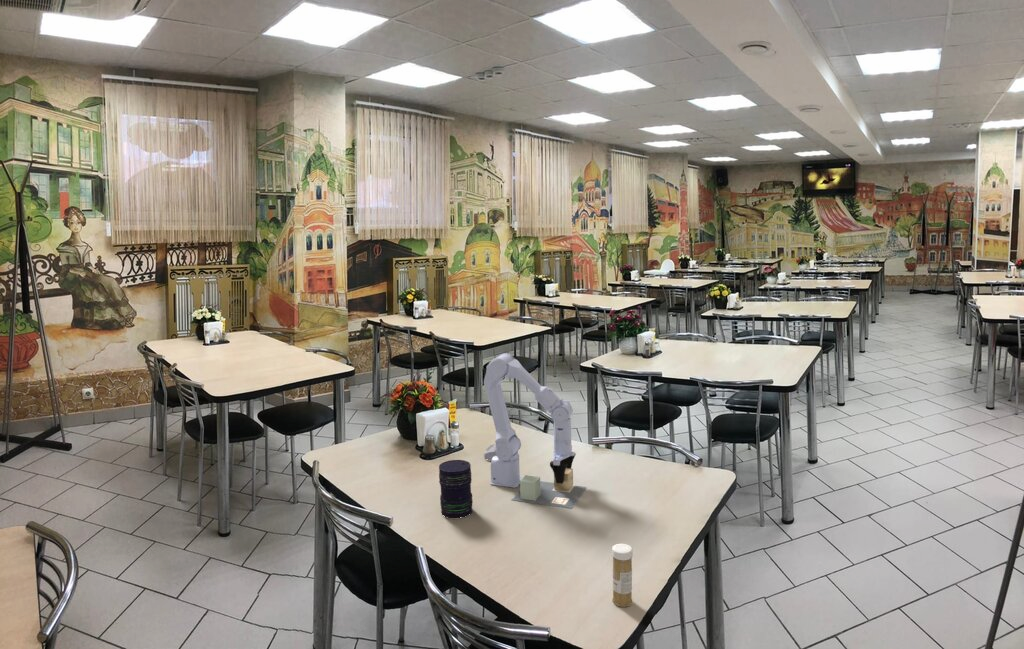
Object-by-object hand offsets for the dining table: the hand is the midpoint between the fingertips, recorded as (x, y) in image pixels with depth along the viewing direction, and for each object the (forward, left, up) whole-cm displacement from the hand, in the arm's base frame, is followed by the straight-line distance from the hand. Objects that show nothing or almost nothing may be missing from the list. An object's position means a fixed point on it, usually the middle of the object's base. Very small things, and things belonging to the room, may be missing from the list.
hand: (563, 478), depth 212 cm
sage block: (-8, -10, -3) cm, 13 cm away
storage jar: (-26, -27, -3) cm, 38 cm away
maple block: (0, 0, -3) cm, 3 cm away
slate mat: (-3, -5, -3) cm, 7 cm away
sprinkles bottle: (+32, -58, -3) cm, 66 cm away
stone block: (-33, +22, -4) cm, 40 cm away
